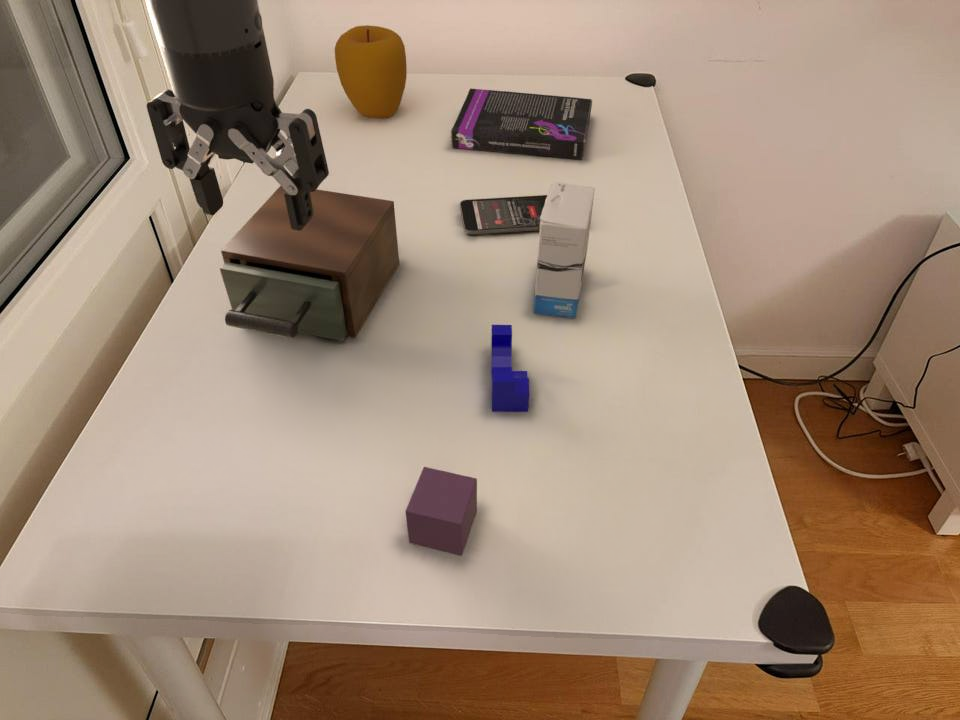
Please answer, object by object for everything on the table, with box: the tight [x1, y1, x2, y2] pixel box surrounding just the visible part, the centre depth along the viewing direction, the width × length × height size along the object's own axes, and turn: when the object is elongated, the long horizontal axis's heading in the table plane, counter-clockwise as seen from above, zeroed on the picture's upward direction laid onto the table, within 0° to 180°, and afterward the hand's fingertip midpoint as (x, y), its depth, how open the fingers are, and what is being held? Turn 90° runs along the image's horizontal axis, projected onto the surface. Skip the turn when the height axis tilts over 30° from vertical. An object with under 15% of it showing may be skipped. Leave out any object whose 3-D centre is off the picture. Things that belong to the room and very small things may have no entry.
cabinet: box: [220, 185, 400, 339], centre depth 80 cm, size 14×14×9 cm
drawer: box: [219, 260, 347, 342], centre depth 76 cm, size 17×12×7 cm
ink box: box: [532, 181, 596, 319], centre depth 78 cm, size 8×5×12 cm, turn 168°
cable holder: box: [490, 324, 531, 413], centre depth 71 cm, size 8×4×4 cm, turn 0°
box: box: [450, 88, 593, 160], centre depth 109 cm, size 14×4×20 cm
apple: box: [334, 25, 408, 119], centre depth 111 cm, size 11×11×13 cm
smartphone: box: [459, 194, 547, 236], centre depth 93 cm, size 7×1×15 cm
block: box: [405, 466, 478, 557], centre depth 58 cm, size 4×4×4 cm
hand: (257, 217), depth 64 cm, fingers open, 8 cm apart
